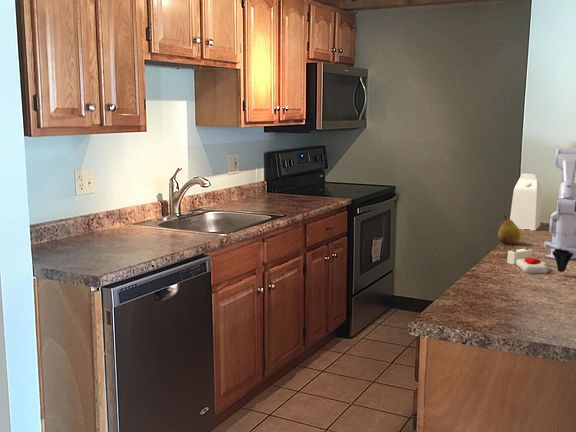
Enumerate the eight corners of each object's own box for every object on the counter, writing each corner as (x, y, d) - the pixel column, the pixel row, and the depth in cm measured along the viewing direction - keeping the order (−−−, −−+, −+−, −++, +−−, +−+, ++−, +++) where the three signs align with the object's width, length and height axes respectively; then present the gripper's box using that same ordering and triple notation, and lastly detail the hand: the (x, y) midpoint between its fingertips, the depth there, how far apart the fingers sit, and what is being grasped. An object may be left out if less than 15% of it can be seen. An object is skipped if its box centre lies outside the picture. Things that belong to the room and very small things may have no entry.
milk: (539, 226, 311) (544, 173, 307) (534, 230, 302) (539, 175, 297) (514, 224, 318) (518, 171, 313) (508, 227, 308) (512, 173, 303)
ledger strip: (525, 259, 246) (526, 246, 245) (531, 261, 243) (532, 247, 242) (507, 262, 241) (508, 249, 240) (513, 264, 238) (514, 250, 237)
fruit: (524, 244, 272) (526, 216, 270) (506, 246, 268) (508, 218, 266) (510, 240, 280) (512, 213, 277) (493, 242, 276) (495, 214, 274)
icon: (555, 263, 225) (526, 262, 226) (554, 274, 226) (525, 274, 226) (542, 254, 237) (515, 254, 238) (541, 266, 238) (514, 265, 238)
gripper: (539, 230, 226) (536, 267, 228) (576, 238, 214) (572, 277, 216) (552, 228, 230) (549, 265, 232) (589, 236, 217) (585, 274, 220)
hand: (561, 271), depth 224 cm, fingers closed
